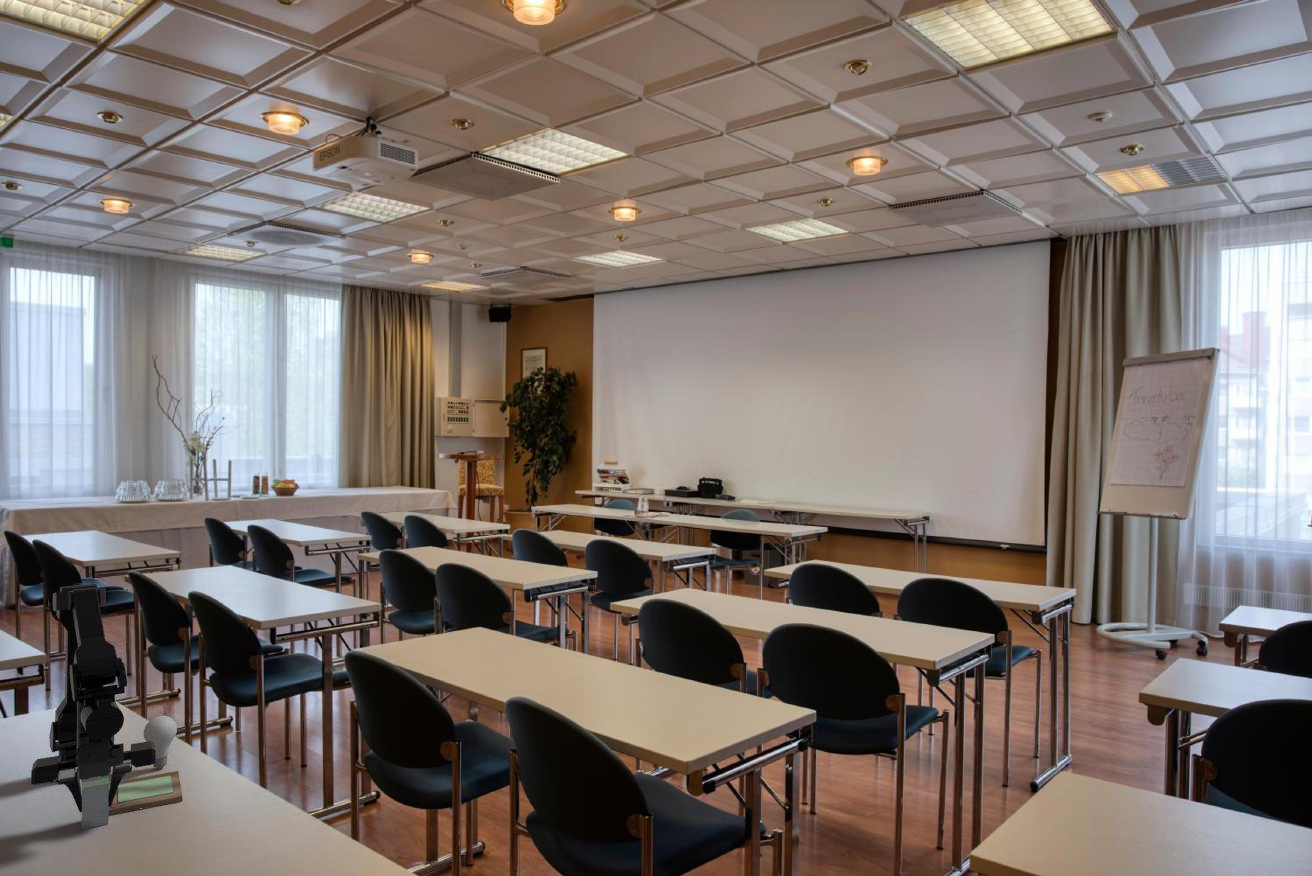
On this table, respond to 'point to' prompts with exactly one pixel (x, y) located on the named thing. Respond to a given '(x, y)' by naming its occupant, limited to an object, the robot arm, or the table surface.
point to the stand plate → (146, 792)
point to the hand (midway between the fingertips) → (95, 808)
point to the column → (95, 802)
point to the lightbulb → (161, 737)
